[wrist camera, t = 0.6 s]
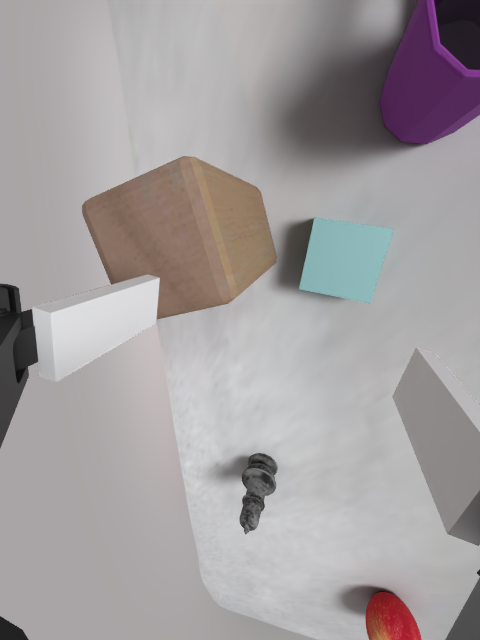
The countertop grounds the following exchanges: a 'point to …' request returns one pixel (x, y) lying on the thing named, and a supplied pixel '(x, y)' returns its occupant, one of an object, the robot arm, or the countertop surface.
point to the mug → (434, 72)
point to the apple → (390, 619)
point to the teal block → (344, 259)
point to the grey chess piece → (257, 489)
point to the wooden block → (183, 234)
